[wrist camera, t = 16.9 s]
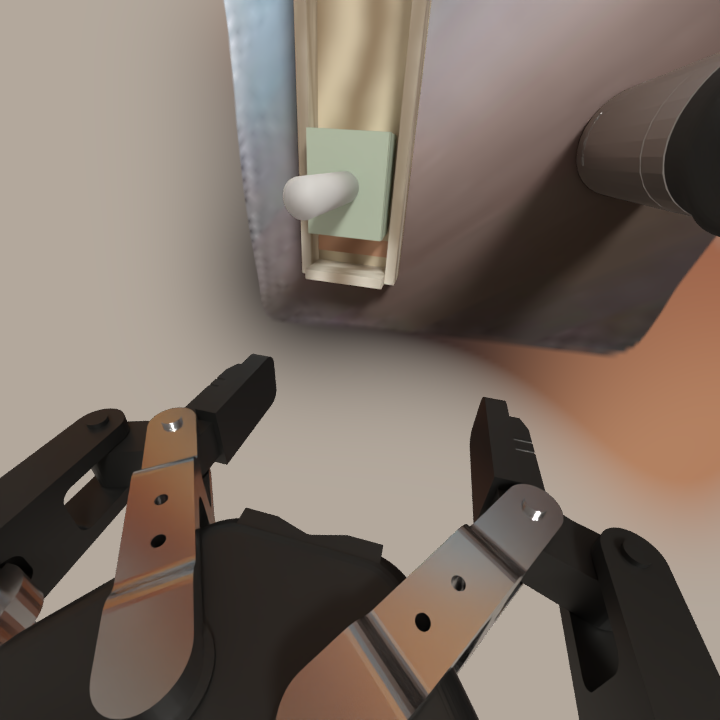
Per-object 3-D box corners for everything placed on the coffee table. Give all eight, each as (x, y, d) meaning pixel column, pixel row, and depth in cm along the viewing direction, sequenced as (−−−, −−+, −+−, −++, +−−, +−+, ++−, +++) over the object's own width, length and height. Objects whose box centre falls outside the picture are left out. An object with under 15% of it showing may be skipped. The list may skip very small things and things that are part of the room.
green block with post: (397, 134, 36) (360, 119, 22) (387, 233, 41) (353, 272, 27) (322, 130, 37) (241, 112, 23) (322, 226, 43) (256, 259, 28)
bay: (448, -140, 27) (447, -208, 22) (398, 275, 45) (391, 290, 40) (307, -129, 29) (276, -189, 24) (313, 264, 47) (296, 277, 42)
